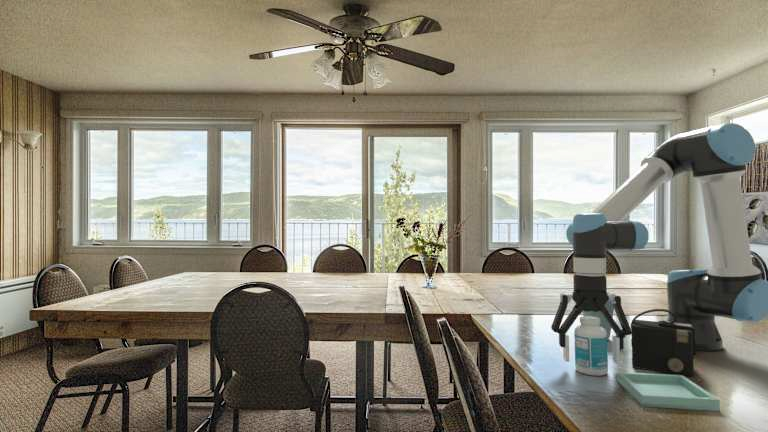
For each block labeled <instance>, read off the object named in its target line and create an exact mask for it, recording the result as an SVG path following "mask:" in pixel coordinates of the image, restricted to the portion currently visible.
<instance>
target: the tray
mask: <svg viewBox="0 0 768 432" xmlns="http://www.w3.org/2000/svg"><path fill="white" fill-rule="evenodd" d="M616 381H617V382H618V384H620V386H621V387H622V388H623V389H625V391H626V392H628V393H629V394H630V395H631V396H632V397H633V398H634V400H636V401H637V402H638V403H639V404H640V405H641V406H642V407H651V408H667V409H679V410H680V409H682V410H694V411H695V410H697V411H714V412H721V411H720V410H721V400H720V399H719V398H717V396H714V395H713V394H712V393H710V392H709V391H707V390H705V389H704V388H702V387H701V386H700V385H698V384H696V383H695V382H694V381H692V380H691V379H689V378H688V377H686V376H685V375H681V374H670V373H669V374H668V373H667V374H666V373H646V372H645V373H644V372H627V371H626V372H625V371H616Z"/></svg>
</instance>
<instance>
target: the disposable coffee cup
mask: <svg viewBox="0 0 768 432" xmlns="http://www.w3.org/2000/svg"><path fill="white" fill-rule="evenodd" d="M607 295H615V294H614V292H611V291H607ZM604 306H605V308H606V309H607V310H608V312H609V314H610V315H611V317H612V318H613V319H614V313H615V309H614V307H613V304H612V303H610V300H608V301H607V303H606V304H605V305H604ZM583 316H591V317H597V318H600V322H601V323H600V325H599V326H600V327H602V328H604V329H605V330H606V332H607V341H609V340H610V337H611V332H612V328H611V326H610V325H609V323H608V322H607V321H606V319H605V318H604V316H603V315H602V314H601V312H600V311H598V312H594V311H589V312H585V311H582V317H583Z"/></svg>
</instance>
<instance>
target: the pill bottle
mask: <svg viewBox="0 0 768 432" xmlns="http://www.w3.org/2000/svg"><path fill="white" fill-rule="evenodd" d="M579 323H580V324H579V325H577V326H575V327H574V336H573V337H574V361H575V362H574V366H575V369H576V371H577V372H579V373H581V374H584V375H588V376H593V377H595V376H596V377H601V376H605V375H607V374H608V372H609V361H608V359H609V358H608V340H607V332H606V330H605V329H604V328H602V327H600V326H599V325H600V323H601V322H600V318H597V317H591V316H583V315H582V316H579Z"/></svg>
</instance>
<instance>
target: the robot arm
mask: <svg viewBox="0 0 768 432" xmlns="http://www.w3.org/2000/svg"><path fill="white" fill-rule="evenodd" d="M755 154H756V144H755V140H754V138H753V136H752V134H751V133H750V132H749V130H748V129H746V128H745V127H743V125H740V124H737V123H732V122H728V123H721V124H716V125H715V124H714V125H710V126H707V127H704V128H699V129H695V130H691V131H687V132H683V133H678V134H676V135H674V136H672V137H670V138H668V139H667V140H665V141H664V142H662V143H661V144H660V145H658V146H657V147H655V149H653V151H651V152H650V153H649V154H648V155H647V156H645V157H644V158H643V160H641V162H640V167H639V168H638V169H637V170H635V171H634V173H632V174H631V175H630V176H629V177H628V178H627V179H625V181H624V182H623V183H622V184H620V186H618V187H617V188H616V189H615V190H614V191H613V192H612V193H611V194H610V195H609V196H608V197H607V198H606V199H605V200H604V201H602V202H601V203H600V204H599V205H598V206H597V207H596V208H595V209H594V210H593V211H592V212H590V213H576V214H575V215H574V216H573V217H572V218H573V219H572V223H571V224H569V225H568V227H567V228H566V230H565V231H566V233H565V235H566V239H567V241H568V243H569V244H570V245H571V246H572V249H573V250H572V253H573V255H572V256H573V257H572V258H573V265H572V266H573V268H572V269H573V270H572V271H573V272H574V273H575V274H574V275H573V292H572V294H569V293H568V294H565V293H560V297H559V298H560V302H559V305H558V308H557V311H556V313H555V316H554V318H553V321H552V324H551V330H552V331H553V332H554V333H556V334H558V344H559V346H560V347H561V348H562V350H563V360H564V361H565V362H568V363H570V336H569V334H568V332H569V330H570V328H571V327H572V325H573V324H574V323H575V321H576V319H577V318H578V317H580V315H581V314H583V311H585V312H589V311H594V312H598V311H600V312H601V314H602V315H603V316H604V318H605V319H606V321H607V322H608V323H609V325H610V326H611V330H613V332H614V333H615V334H612V335H611V338H612V339H611V340H612V344H611V345H612V348H611V349H612V350H611V351H612V362H614V364H616V365H620V364H621V355H620V353H621V352H620V351H623V350H624V349H625V348H624V347H625V345H624V343H625V342H624V339H625V338H626V336H632V330H631V325H630V324H629V321H628V319H627V317H626V314H625V311H624V309H623V306H622V298H621V296H619V295H617V294H614V295H607V292H608V291H607V289H608V287H607V277H606V275H605V274H606V273H607V251H633V250H634V251H635V250H636V251H637V250H641V249H643V248H645V247H646V245H647V244H648V242H649V237H650V236H649V229H648V228H647V226H646V225H645V224H644V223H642V222H640V221H633V220H625V219H626V218H627V217H628V216H629V215H630V214H631V213H632V212H633V211H634V210H635V209H636V208H637V207H638V206H640V205H641V204H642V203H643V202H644V201H645V200H646V199H648V197H649V196H650V195H651V194H652V193H653V192H654V191H655V190H657V188H659V187H660V185H662V184H663V183H664V184H666V183H669V182H670V181H671V180H672V179H674V177H676V176H678V175H680V174H681V175H682V174H684V173H688V172H689V173H690V172H692V177H693V179H694V180H695V181H698V182H699V183H700V187H701V194H702V201H703V202H702V203H703V208H704V216H705V223H706V228H707V234H708V235H707V237H708V242H709V251H710V255H711V257H710V258H711V263H712V266H711V267H710V268H706V269H705V268H704V269H703V268H702V269H678V270H671V271H669V272H668V274H667V282H666V286H667V287H666V288H667V289H666V292H667V310H670V311H672V312H673V313H674V315H675V318H676V320H675V322H681V323H690V324H692V325H693V328H694V330H695V343H696V351H704V352H706V351H707V352H711V351H712V352H713V351H714V352H715V351H721V350H723V348H724V345H723V343H724V342H723V338H722V336H721V333H720V332H719V328H718V326H717V324H716V321H715V319H716V318H715V316H718V317H723V318H727V319H732V320H736V321H739V322H748V323H759V322H762V321H764V320H765V319H767V318H768V280H766V279H763V278H762V270H761V269H759V268H758V267H756V266H755V265H754V264H753V261H752V260H753V259H752V254H751V246H750V239H749V231H748V225H747V218H746V211H745V205H744V204H745V203H744V197H743V189H742V184H741V183H742V182H741V177H742V176H743V175H744V174H745V173H746V172H747V164H749V163H750V162H751V161H753V159H754V155H755ZM572 300H573V301H574V303H575V304H574V306H573V307H572V310H571V311H570V312H569V314H568V315H567V317H566V318H565V320H564V321H563V319H564V315H565V313H566V311H567V309H568V308H567V307H568V304H569V303H571V301H572ZM608 300H610V303H612V304H613V307H614V313H615V314H616V317H617V319H618V321H619V324H620V326H621V328H620V326H619V325H618V323H617V322H616V321H615V319H614V317H613V318H612V317H611V315H610V314H609V312H608V310H607V309H606V308H605V306H604V305H605V304H606V303H607V301H608ZM667 313H668V314H667V315H668V316H667V319H666V321H672V320H673V319H674V316H673V315H672V314H671V313H669V312H667ZM562 321H563V323H562Z"/></svg>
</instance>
